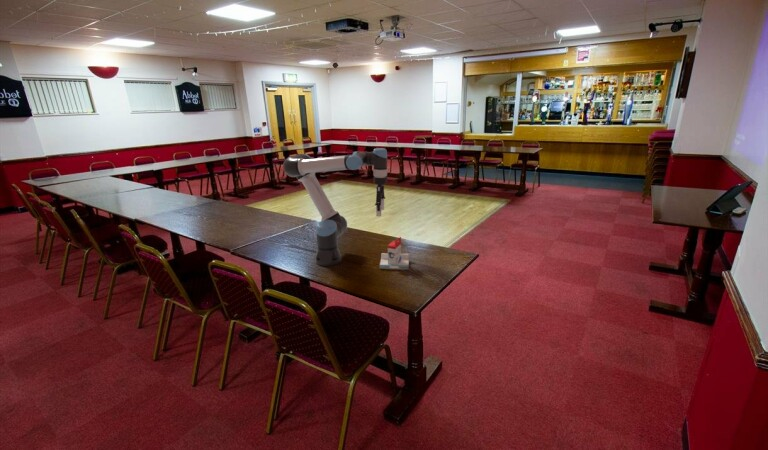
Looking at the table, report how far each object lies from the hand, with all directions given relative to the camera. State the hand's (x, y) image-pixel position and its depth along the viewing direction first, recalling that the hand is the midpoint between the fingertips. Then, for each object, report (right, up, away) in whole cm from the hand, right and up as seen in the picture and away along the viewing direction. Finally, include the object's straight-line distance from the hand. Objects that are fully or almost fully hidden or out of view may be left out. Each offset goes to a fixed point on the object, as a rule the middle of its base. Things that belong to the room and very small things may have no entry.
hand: (380, 212), depth 210 cm
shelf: (+8, -30, -4) cm, 31 cm away
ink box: (+8, -29, -5) cm, 30 cm away
